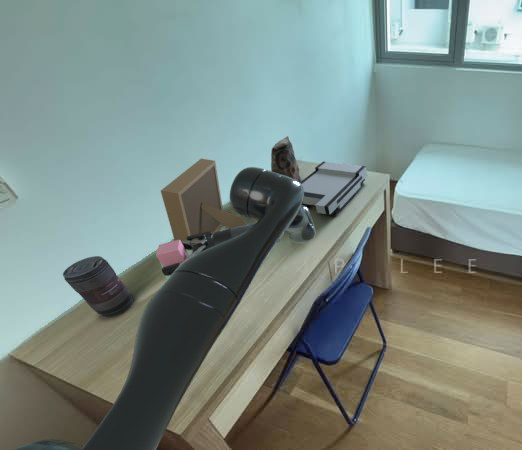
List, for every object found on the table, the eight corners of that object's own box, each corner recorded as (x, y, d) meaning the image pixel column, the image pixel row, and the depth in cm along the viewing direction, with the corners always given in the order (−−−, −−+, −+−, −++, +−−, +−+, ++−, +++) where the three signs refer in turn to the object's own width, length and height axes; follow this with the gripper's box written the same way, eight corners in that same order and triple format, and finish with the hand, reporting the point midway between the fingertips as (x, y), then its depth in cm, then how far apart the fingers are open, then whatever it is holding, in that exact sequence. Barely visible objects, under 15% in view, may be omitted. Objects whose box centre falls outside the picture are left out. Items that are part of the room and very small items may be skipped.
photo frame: (181, 261, 97) (139, 191, 83) (213, 222, 115) (183, 159, 100) (228, 258, 97) (194, 189, 83) (253, 220, 115) (229, 157, 101)
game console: (283, 214, 117) (277, 195, 112) (326, 178, 142) (323, 161, 137) (331, 223, 111) (327, 203, 106) (367, 183, 136) (365, 166, 131)
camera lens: (138, 291, 87) (107, 251, 78) (134, 311, 81) (100, 270, 72) (103, 303, 84) (66, 262, 75) (96, 324, 78) (55, 282, 69)
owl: (299, 175, 145) (289, 133, 133) (308, 185, 136) (298, 142, 124) (272, 183, 140) (259, 140, 128) (279, 194, 131) (266, 149, 119)
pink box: (195, 279, 79) (178, 249, 73) (175, 285, 77) (155, 255, 71) (196, 268, 82) (179, 239, 76) (177, 274, 80) (158, 244, 75)
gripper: (231, 216, 84) (162, 233, 78) (233, 245, 73) (153, 267, 68) (240, 238, 88) (175, 256, 83) (243, 268, 77) (169, 291, 72)
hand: (165, 261), depth 75 cm, fingers open, 8 cm apart
